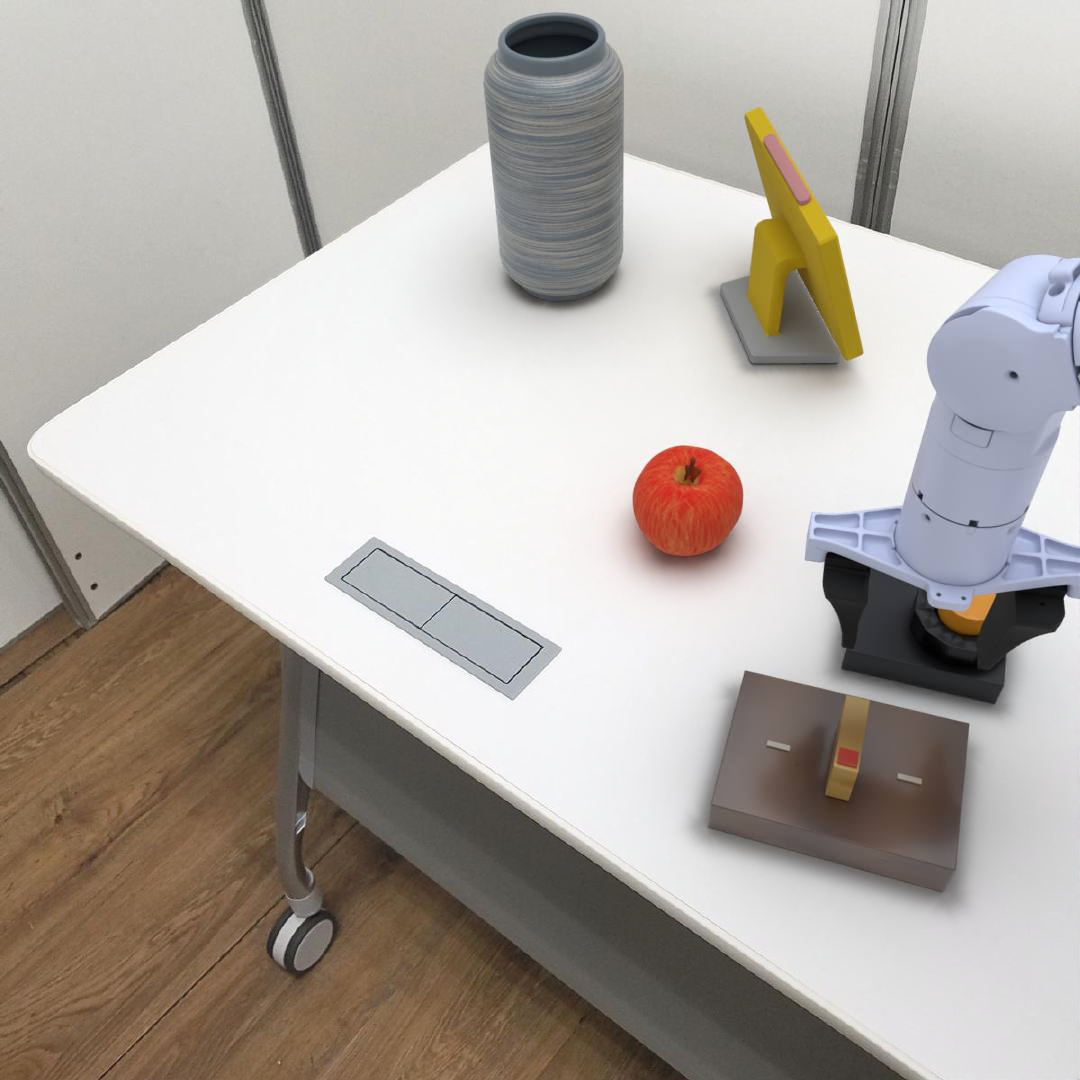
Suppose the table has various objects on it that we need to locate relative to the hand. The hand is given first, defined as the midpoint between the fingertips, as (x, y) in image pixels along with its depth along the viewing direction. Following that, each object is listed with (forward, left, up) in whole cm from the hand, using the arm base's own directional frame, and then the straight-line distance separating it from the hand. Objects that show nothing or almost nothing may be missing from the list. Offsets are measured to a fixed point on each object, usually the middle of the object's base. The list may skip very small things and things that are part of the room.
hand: (914, 645), depth 64 cm
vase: (+35, -42, -9) cm, 55 cm away
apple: (+16, -13, -9) cm, 23 cm away
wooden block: (+2, +5, -6) cm, 8 cm away
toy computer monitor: (+14, -40, -9) cm, 43 cm away
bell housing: (-2, -10, -9) cm, 13 cm away
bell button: (-3, -8, -5) cm, 10 cm away
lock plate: (+2, +5, -9) cm, 11 cm away
